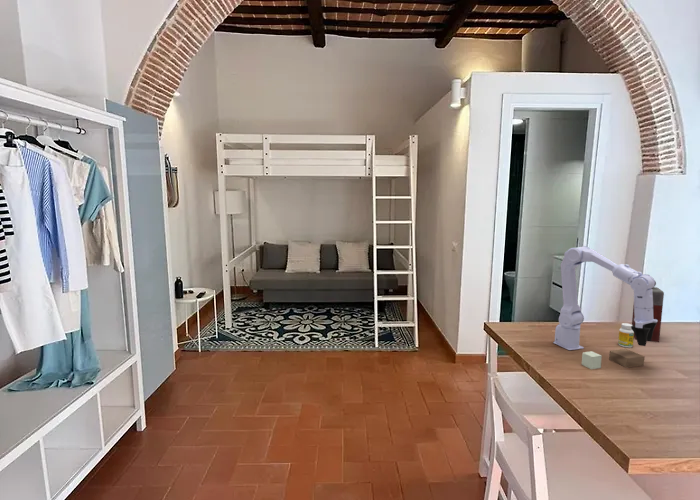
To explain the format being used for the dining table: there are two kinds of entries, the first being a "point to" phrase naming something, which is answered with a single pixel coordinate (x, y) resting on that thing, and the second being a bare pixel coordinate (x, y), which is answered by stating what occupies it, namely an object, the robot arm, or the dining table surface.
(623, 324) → the supplement bottle
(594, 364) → the sage block
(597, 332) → the dining table surface
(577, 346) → the robot arm
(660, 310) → the red lidded box
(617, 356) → the walnut block
